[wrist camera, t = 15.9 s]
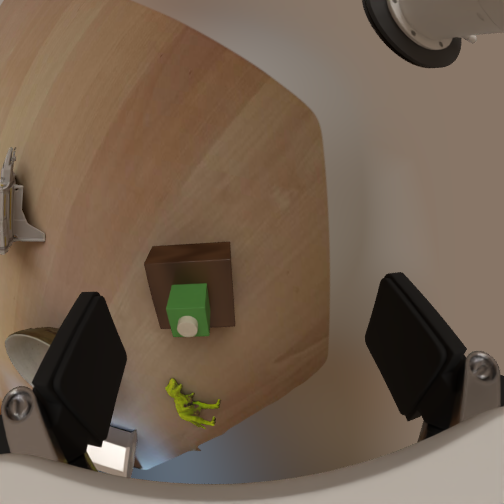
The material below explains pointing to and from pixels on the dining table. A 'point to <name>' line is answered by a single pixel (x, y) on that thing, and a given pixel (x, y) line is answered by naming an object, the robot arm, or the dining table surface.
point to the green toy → (189, 310)
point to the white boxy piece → (115, 453)
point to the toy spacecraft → (13, 209)
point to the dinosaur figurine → (189, 405)
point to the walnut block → (193, 277)
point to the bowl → (29, 349)
